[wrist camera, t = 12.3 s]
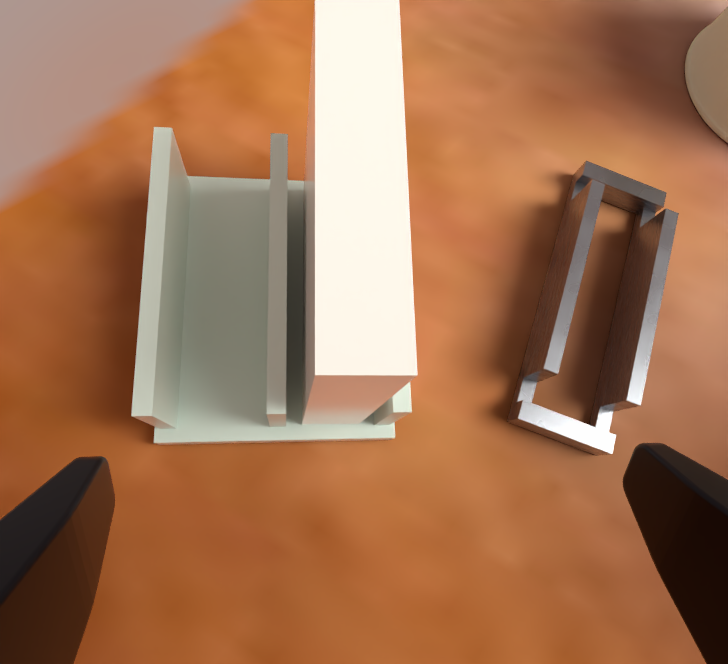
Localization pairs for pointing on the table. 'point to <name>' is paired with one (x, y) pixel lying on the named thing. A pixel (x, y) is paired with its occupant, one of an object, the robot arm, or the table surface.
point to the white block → (356, 216)
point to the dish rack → (228, 310)
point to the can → (710, 74)
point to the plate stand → (631, 314)
